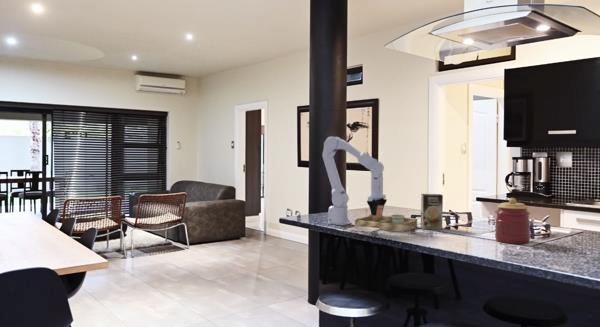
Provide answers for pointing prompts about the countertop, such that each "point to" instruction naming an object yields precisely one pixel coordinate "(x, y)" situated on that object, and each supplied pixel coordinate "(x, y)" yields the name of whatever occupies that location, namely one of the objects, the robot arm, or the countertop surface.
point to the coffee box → (431, 211)
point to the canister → (512, 223)
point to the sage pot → (397, 219)
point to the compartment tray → (386, 223)
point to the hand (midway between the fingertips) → (376, 214)
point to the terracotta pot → (378, 213)
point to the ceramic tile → (363, 229)
